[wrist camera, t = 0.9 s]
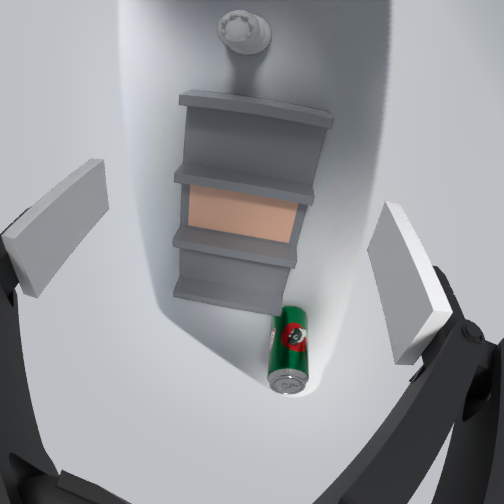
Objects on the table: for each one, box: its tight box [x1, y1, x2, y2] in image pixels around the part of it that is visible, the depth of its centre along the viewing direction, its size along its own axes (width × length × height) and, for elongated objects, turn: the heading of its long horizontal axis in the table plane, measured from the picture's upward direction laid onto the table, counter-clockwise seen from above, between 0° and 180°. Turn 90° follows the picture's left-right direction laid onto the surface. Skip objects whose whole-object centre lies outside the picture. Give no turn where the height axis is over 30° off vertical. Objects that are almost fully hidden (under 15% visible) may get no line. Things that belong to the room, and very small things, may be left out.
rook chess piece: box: [217, 10, 272, 55], centre depth 22 cm, size 4×4×8 cm
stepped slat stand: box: [173, 90, 334, 316], centre depth 35 cm, size 25×14×4 cm, turn 172°
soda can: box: [267, 306, 309, 394], centre depth 41 cm, size 5×5×12 cm
